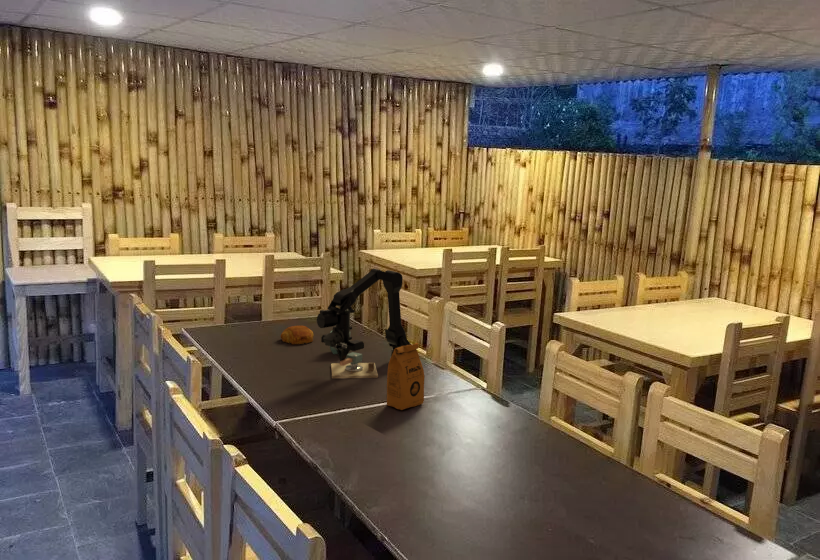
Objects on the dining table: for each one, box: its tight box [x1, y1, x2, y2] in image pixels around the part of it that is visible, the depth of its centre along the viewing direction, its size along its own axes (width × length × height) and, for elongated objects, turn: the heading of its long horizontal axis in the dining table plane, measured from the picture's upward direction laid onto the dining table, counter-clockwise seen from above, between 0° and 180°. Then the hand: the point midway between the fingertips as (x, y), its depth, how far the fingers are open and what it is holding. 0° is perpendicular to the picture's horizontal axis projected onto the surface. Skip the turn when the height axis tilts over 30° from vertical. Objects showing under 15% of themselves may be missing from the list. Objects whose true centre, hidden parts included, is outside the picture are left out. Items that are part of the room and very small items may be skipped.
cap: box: [339, 351, 364, 366], centre depth 262 cm, size 11×5×3 cm, turn 152°
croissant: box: [280, 325, 314, 345], centre depth 307 cm, size 14×16×8 cm
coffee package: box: [386, 342, 425, 411], centre depth 229 cm, size 10×12×22 cm
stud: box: [345, 363, 363, 372], centre depth 266 cm, size 7×7×3 cm
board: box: [330, 362, 379, 379], centre depth 266 cm, size 18×16×1 cm
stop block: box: [368, 361, 375, 371], centre depth 265 cm, size 2×2×3 cm
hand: (342, 362), depth 261 cm, fingers closed
